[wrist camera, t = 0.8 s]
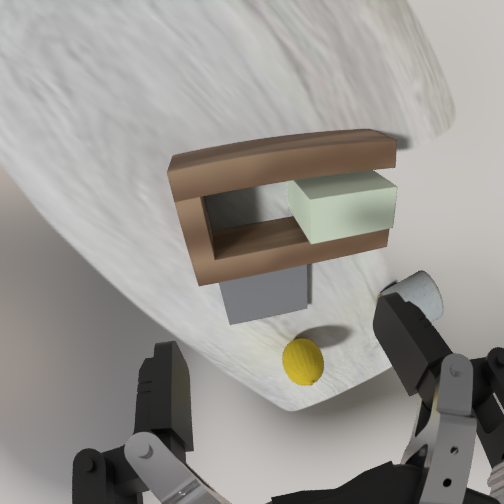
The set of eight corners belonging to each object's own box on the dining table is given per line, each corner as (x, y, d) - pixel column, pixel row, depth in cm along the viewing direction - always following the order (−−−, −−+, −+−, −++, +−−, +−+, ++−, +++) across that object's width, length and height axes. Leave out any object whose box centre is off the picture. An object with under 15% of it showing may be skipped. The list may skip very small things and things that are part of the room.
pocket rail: (172, 155, 25) (166, 172, 20) (368, 128, 26) (396, 140, 22) (198, 255, 31) (198, 286, 27) (365, 223, 32) (386, 246, 28)
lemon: (320, 331, 41) (339, 375, 35) (298, 354, 44) (312, 396, 37) (292, 322, 39) (309, 370, 33) (269, 347, 41) (281, 393, 35)
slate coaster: (213, 257, 31) (213, 261, 31) (304, 238, 32) (306, 242, 31) (229, 320, 37) (230, 325, 36) (305, 304, 37) (307, 308, 37)
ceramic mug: (369, 286, 38) (396, 326, 32) (417, 259, 37) (447, 294, 31) (378, 326, 44) (398, 361, 38) (418, 302, 43) (442, 335, 37)
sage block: (285, 170, 27) (309, 199, 22) (359, 161, 28) (397, 186, 22) (288, 207, 30) (311, 244, 24) (358, 196, 30) (392, 227, 24)
